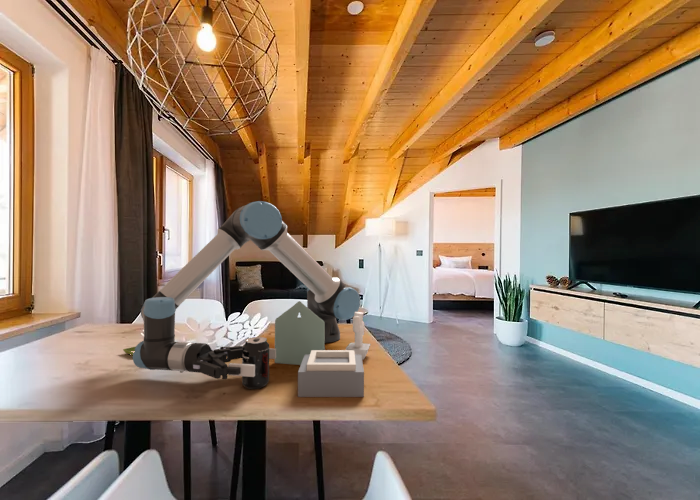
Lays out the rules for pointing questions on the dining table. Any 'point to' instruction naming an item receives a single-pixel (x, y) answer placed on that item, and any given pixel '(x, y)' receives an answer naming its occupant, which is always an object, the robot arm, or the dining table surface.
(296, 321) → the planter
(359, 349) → the figurine
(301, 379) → the stand
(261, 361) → the beverage can
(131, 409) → the dining table surface
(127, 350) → the green shallow square tray
